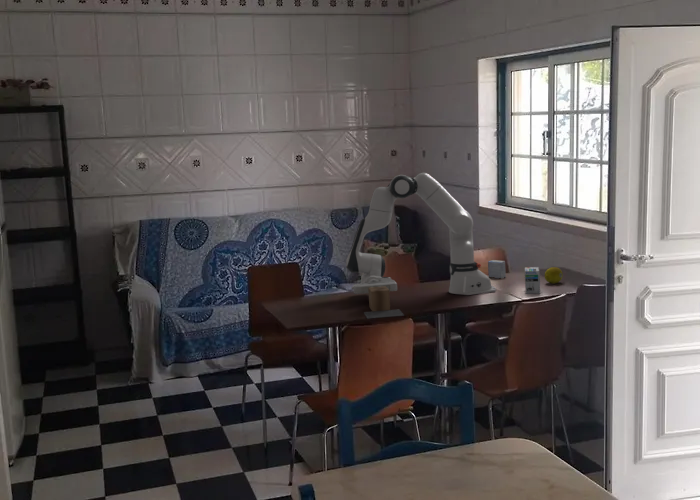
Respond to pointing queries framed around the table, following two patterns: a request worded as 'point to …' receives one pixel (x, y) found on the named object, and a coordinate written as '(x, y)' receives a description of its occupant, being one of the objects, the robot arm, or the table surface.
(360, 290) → the robot arm
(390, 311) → the charcoal mat
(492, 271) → the medicine box
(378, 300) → the letter block
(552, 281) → the lemon
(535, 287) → the light bulb box
